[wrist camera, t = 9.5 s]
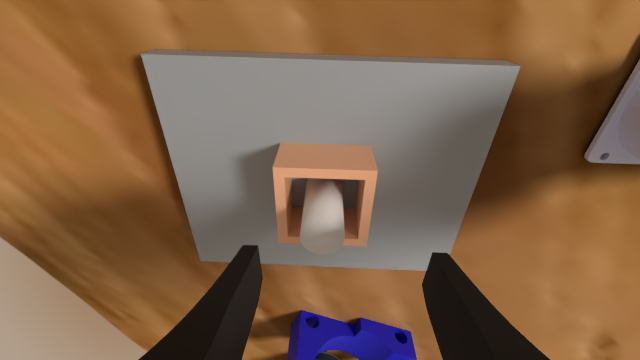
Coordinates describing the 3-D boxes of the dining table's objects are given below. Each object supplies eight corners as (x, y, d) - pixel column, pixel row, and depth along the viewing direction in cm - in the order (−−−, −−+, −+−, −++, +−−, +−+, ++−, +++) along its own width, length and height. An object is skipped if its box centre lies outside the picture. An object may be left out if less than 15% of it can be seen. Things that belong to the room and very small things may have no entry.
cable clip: (410, 329, 32) (424, 394, 27) (388, 349, 34) (398, 412, 29) (306, 300, 30) (301, 363, 25) (291, 323, 32) (284, 385, 27)
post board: (506, 60, 17) (591, 95, 11) (437, 257, 25) (467, 331, 20) (154, 49, 17) (70, 77, 11) (206, 247, 26) (173, 317, 20)
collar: (371, 145, 18) (377, 170, 16) (362, 215, 21) (366, 246, 19) (280, 142, 18) (272, 167, 16) (284, 213, 21) (278, 243, 19)
